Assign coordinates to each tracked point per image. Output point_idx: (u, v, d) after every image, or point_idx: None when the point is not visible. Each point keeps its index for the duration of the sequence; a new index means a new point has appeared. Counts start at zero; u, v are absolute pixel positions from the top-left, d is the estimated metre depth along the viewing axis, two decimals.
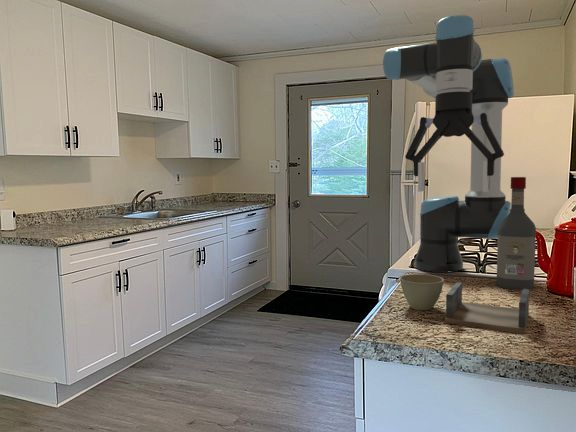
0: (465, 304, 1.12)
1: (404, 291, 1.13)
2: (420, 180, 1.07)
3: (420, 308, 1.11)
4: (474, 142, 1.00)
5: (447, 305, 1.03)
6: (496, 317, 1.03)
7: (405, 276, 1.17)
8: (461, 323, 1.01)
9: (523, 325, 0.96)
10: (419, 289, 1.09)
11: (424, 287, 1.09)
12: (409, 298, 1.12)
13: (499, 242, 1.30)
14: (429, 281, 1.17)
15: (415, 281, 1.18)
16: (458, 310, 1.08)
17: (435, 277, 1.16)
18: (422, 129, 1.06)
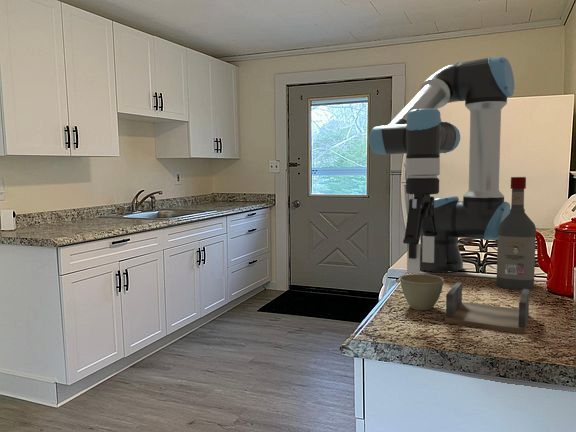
0: (465, 304, 1.12)
1: (404, 291, 1.13)
2: None
3: (420, 308, 1.11)
4: None
5: (447, 305, 1.03)
6: (496, 317, 1.03)
7: (405, 276, 1.17)
8: (461, 323, 1.01)
9: (523, 325, 0.96)
10: (419, 289, 1.09)
11: (424, 287, 1.09)
12: (409, 298, 1.12)
13: (499, 242, 1.30)
14: (429, 281, 1.17)
15: (415, 281, 1.18)
16: (458, 310, 1.08)
17: (435, 277, 1.16)
18: None
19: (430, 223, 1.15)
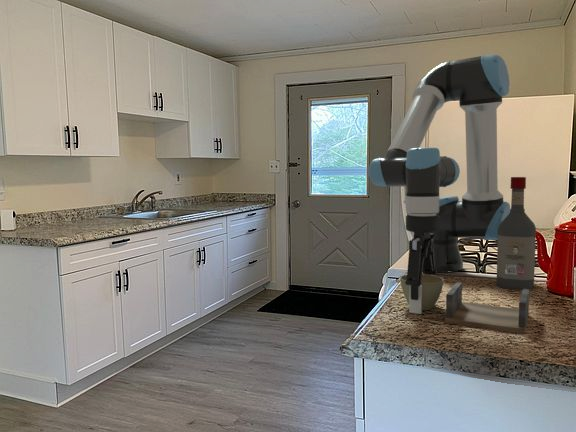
0: (465, 304, 1.12)
1: (404, 291, 1.13)
2: None
3: None
4: None
5: (447, 305, 1.03)
6: (496, 317, 1.03)
7: (405, 276, 1.17)
8: (461, 323, 1.01)
9: (523, 325, 0.96)
10: None
11: (424, 287, 1.09)
12: None
13: (499, 242, 1.30)
14: (429, 281, 1.17)
15: None
16: (458, 310, 1.08)
17: (435, 277, 1.16)
18: None
19: (429, 261, 1.16)
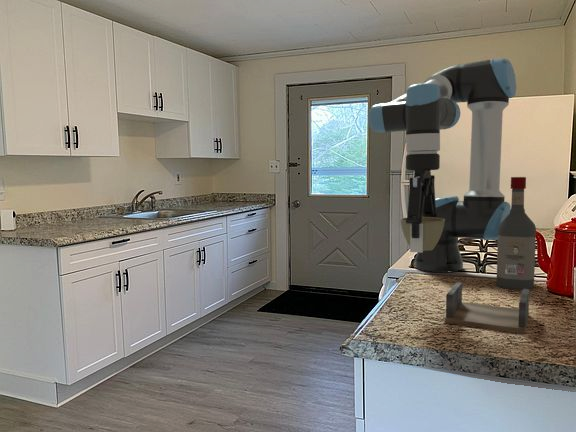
0: (465, 304, 1.12)
1: (405, 232, 1.11)
2: None
3: None
4: None
5: (447, 305, 1.03)
6: (496, 317, 1.03)
7: (406, 218, 1.16)
8: (461, 323, 1.01)
9: (523, 325, 0.96)
10: None
11: (425, 225, 1.07)
12: None
13: (499, 242, 1.30)
14: None
15: None
16: (458, 310, 1.08)
17: (436, 219, 1.15)
18: None
19: (430, 202, 1.14)
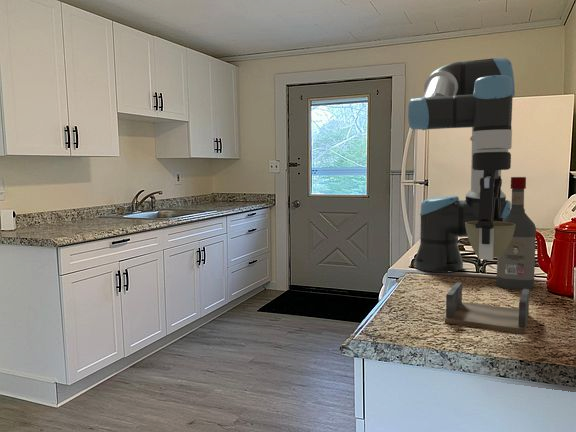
0: (465, 304, 1.12)
1: (471, 237, 1.02)
2: None
3: None
4: None
5: (447, 305, 1.03)
6: (496, 317, 1.03)
7: (469, 223, 1.07)
8: (461, 323, 1.01)
9: (523, 325, 0.96)
10: None
11: (496, 230, 0.98)
12: (477, 244, 1.01)
13: None
14: None
15: None
16: (458, 310, 1.08)
17: (503, 223, 1.05)
18: None
19: (497, 205, 1.05)
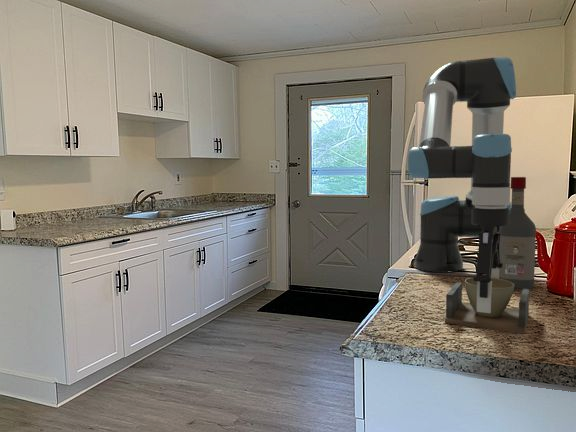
0: (465, 304, 1.12)
1: (470, 296, 1.03)
2: None
3: (488, 315, 1.02)
4: None
5: (447, 305, 1.03)
6: (496, 317, 1.03)
7: (469, 279, 1.08)
8: (461, 323, 1.01)
9: (523, 325, 0.96)
10: None
11: (495, 292, 0.99)
12: (476, 304, 1.03)
13: None
14: (495, 285, 1.08)
15: None
16: (458, 310, 1.08)
17: (502, 281, 1.07)
18: None
19: (496, 255, 1.07)
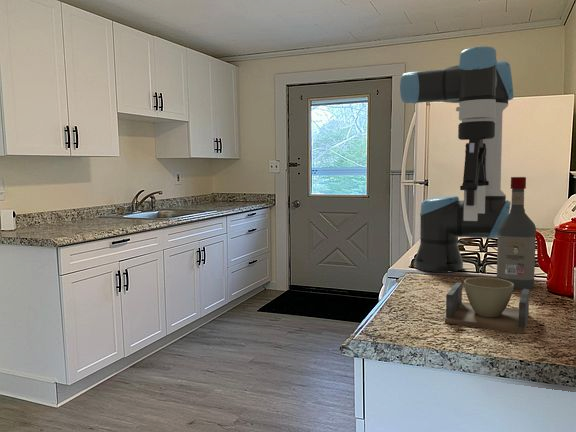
0: (465, 304, 1.12)
1: (470, 296, 1.03)
2: None
3: (488, 315, 1.02)
4: None
5: (447, 305, 1.03)
6: (496, 317, 1.03)
7: (468, 280, 1.08)
8: (461, 323, 1.01)
9: (523, 325, 0.96)
10: (489, 294, 1.00)
11: (495, 292, 0.99)
12: (476, 304, 1.03)
13: (499, 242, 1.30)
14: (494, 285, 1.08)
15: (479, 285, 1.09)
16: (458, 310, 1.08)
17: (502, 281, 1.07)
18: None
19: (482, 171, 1.10)
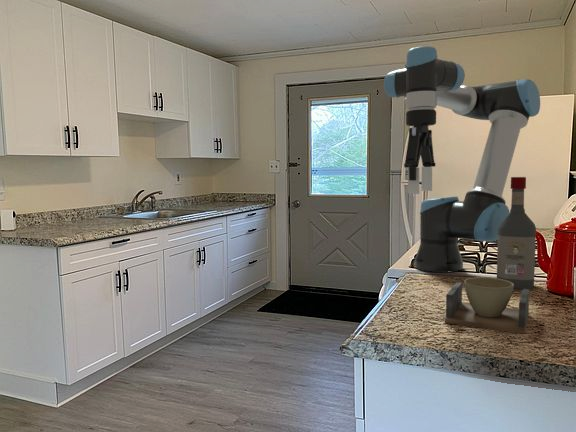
0: (465, 304, 1.12)
1: (470, 296, 1.03)
2: None
3: (488, 315, 1.02)
4: None
5: (447, 305, 1.03)
6: (496, 317, 1.03)
7: (468, 280, 1.08)
8: (461, 323, 1.01)
9: (523, 325, 0.96)
10: (489, 294, 1.00)
11: (495, 292, 0.99)
12: (476, 304, 1.03)
13: (499, 242, 1.30)
14: (494, 285, 1.08)
15: (479, 285, 1.09)
16: (458, 310, 1.08)
17: (502, 281, 1.07)
18: None
19: (428, 154, 1.28)
